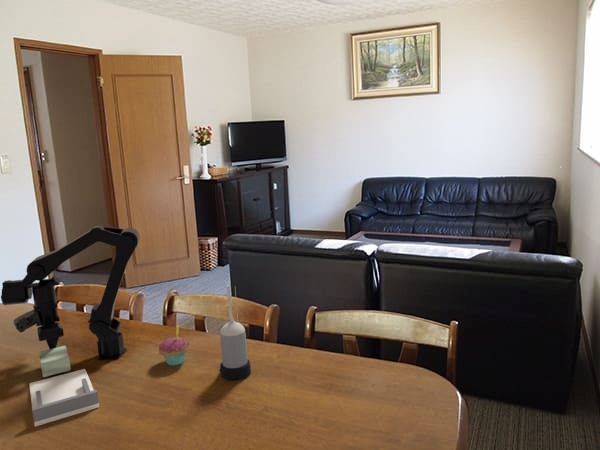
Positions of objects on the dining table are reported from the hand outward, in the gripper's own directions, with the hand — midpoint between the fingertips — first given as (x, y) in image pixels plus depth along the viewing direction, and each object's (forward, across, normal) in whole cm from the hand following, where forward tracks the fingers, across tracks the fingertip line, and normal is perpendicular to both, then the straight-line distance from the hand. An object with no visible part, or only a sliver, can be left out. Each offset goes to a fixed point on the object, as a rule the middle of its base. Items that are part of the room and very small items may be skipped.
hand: (52, 351), depth 145 cm
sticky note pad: (+4, +5, 0) cm, 6 cm away
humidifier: (+4, +37, +42) cm, 56 cm away
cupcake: (+4, +21, +30) cm, 37 cm away
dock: (+4, +22, 0) cm, 22 cm away
